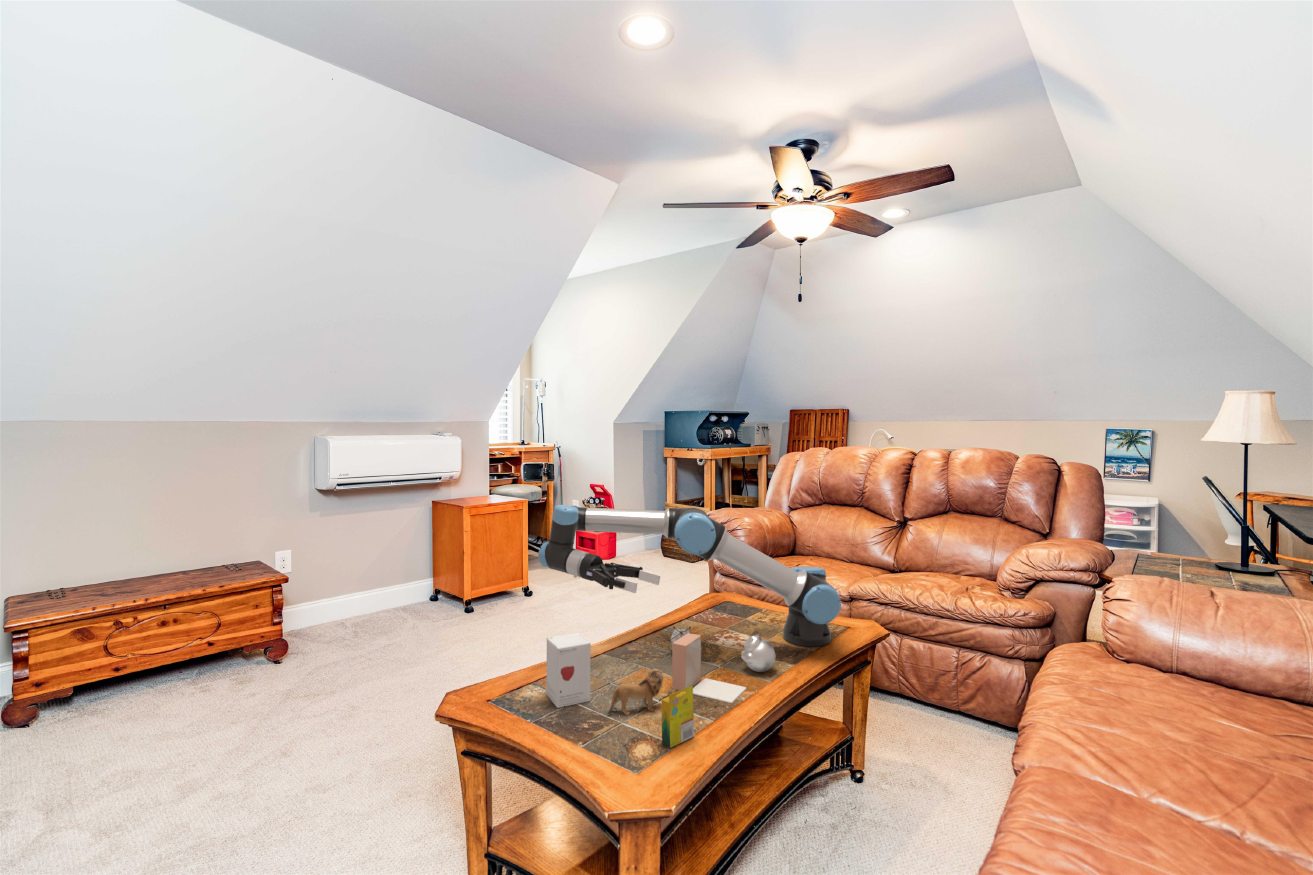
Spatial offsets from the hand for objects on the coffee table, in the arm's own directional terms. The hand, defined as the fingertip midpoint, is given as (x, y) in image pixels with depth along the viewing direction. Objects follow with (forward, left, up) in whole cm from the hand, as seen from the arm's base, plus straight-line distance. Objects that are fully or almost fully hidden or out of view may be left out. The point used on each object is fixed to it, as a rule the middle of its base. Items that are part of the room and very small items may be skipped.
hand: (648, 583), depth 173 cm
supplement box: (+20, +16, -25) cm, 36 cm away
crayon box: (-7, +37, -25) cm, 45 cm away
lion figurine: (+2, +22, -25) cm, 34 cm away
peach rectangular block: (-10, +8, -25) cm, 28 cm away
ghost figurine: (-31, -1, -25) cm, 40 cm away
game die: (-10, -14, -25) cm, 30 cm away
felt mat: (-18, +12, -25) cm, 33 cm away
